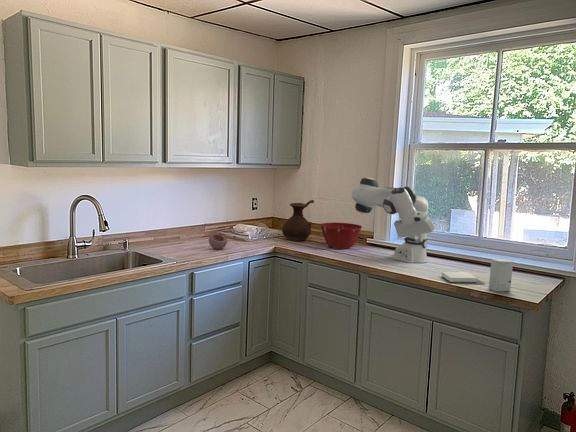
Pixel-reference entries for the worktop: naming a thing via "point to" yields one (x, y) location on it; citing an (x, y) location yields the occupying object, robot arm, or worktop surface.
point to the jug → (297, 223)
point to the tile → (459, 277)
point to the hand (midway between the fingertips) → (420, 241)
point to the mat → (470, 282)
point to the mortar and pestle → (217, 240)
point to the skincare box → (500, 274)
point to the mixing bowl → (340, 234)
